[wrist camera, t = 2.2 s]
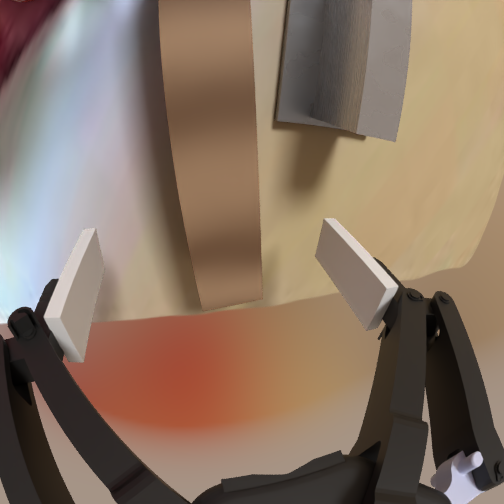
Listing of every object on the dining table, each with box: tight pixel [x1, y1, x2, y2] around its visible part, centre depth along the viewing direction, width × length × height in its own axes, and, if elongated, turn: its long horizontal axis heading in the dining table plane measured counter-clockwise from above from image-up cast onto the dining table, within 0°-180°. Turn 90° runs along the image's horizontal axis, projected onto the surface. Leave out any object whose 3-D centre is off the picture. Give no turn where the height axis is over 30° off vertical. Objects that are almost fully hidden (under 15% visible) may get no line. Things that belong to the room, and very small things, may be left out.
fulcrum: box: [275, 0, 412, 142], centre depth 13 cm, size 8×12×6 cm, turn 175°
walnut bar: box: [158, 0, 263, 311], centre depth 13 cm, size 24×4×6 cm, turn 3°
